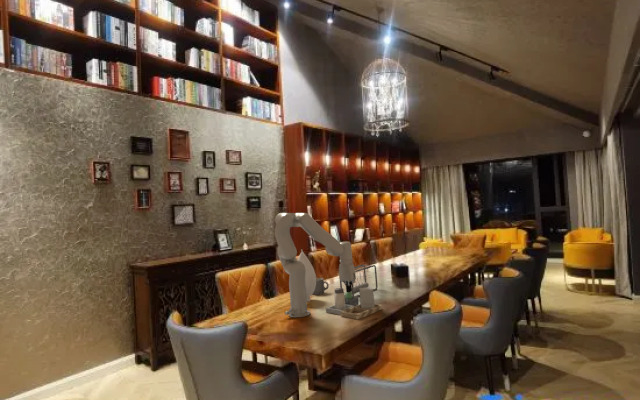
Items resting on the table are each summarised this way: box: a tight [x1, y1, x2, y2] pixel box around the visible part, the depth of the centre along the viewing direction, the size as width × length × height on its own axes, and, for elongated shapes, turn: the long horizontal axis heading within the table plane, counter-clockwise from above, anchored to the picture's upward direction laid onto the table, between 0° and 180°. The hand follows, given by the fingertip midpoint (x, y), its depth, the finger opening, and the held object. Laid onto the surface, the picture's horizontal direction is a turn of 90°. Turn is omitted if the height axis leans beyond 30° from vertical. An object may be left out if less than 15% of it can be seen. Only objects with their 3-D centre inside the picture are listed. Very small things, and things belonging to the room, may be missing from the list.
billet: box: [333, 287, 346, 310], centre depth 236 cm, size 6×6×13 cm
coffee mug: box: [311, 277, 330, 296], centre depth 288 cm, size 13×10×10 cm
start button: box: [344, 292, 352, 299], centre depth 247 cm, size 4×4×6 cm
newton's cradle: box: [339, 264, 378, 298], centre depth 278 cm, size 30×10×18 cm, turn 140°
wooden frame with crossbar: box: [340, 303, 383, 320], centre depth 230 cm, size 23×12×2 cm, turn 137°
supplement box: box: [359, 286, 375, 309], centre depth 234 cm, size 7×7×13 cm
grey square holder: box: [345, 295, 360, 306], centre depth 247 cm, size 8×8×5 cm
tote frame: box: [325, 304, 355, 316], centre depth 236 cm, size 12×12×2 cm
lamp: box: [296, 250, 317, 302], centre depth 269 cm, size 16×16×35 cm
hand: (349, 291), depth 247 cm, fingers closed
